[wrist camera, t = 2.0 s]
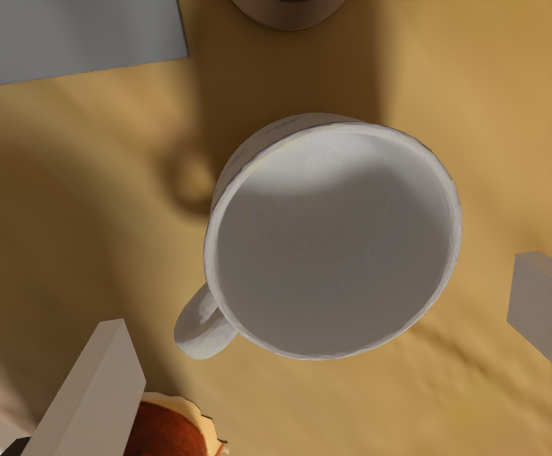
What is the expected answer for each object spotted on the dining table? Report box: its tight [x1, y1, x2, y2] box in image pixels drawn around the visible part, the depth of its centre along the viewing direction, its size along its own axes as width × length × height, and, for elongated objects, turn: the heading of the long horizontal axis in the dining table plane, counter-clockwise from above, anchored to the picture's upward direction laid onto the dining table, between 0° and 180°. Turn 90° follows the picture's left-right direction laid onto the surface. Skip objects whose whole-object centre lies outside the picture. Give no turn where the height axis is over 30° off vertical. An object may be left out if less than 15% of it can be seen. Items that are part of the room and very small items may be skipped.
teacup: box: [174, 113, 462, 360], centre depth 18 cm, size 14×11×8 cm
